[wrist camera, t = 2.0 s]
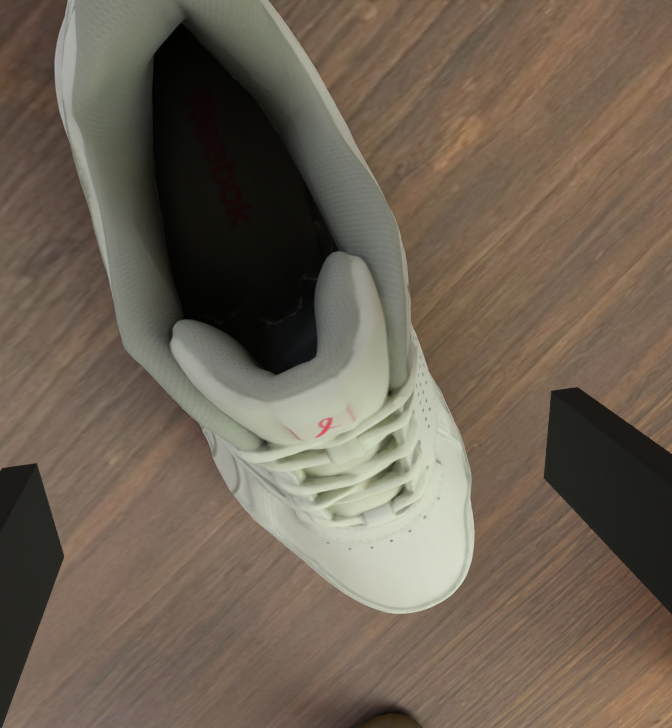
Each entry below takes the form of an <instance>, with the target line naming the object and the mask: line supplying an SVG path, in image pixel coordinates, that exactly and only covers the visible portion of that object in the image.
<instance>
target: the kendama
mask: <svg viewBox="0 0 672 728" xmlns="http://www.w3.org/2000/svg"><path fill="white" fill-rule="evenodd" d="M358 728H422V727H421V726H420V725H419V723H418V722H417V721H416V720H414V719H412V718H409V717H407V716H405V715H403V714H390V713H388V714H384V715H380V716H376V717H373V718H372V719H370V720H368V721H366V722H365V723H363V724H361V725H360V726H359V727H358Z"/></svg>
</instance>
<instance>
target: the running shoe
mask: <svg viewBox="0 0 672 728" xmlns="http://www.w3.org/2000/svg"><path fill="white" fill-rule="evenodd" d="M54 64H55V87H56V94H57V101H58V106H59V112H60V115H61V118H62V121H63V125H64V128H65V131H66V134H67V137H68V139H69V142H70V146H71V151H72V155H73V159H74V162H75V166H76V170H77V173H78V177H79V180H80V183H81V186H82V189H83V192H84V195H85V198H86V201H87V204H88V208H89V211H90V214H91V219H92V224H93V228H94V232H95V235H96V238H97V242H98V246H99V250H100V253H101V257H102V261H103V264H104V267H105V269H106V272H107V274H108V277H109V282H110V287H111V292H112V297H113V301H114V307H115V314H116V320H117V324H118V328H119V331H120V335H121V339H122V342H123V346H124V348H125V349H126V350H127V352H128V353H129V354H130V356H131V357H133V358H134V359H135V360H136V361H137V362H138V363H139V364H141V365H142V366H143V367H144V368H145V369H146V370H147V371H148V373H149V374H150V375H151V376H152V377H153V378H154V379H155V380H156V381H157V382H158V383H159V384H160V385H161V386H162V387H163V389H164V390H165V391H166V392H167V393H168V394H169V395H170V396H171V397H172V398H173V399H174V400H175V401H176V402H177V403H178V404H179V405H180V407H181V408H182V409H183V410H184V411H186V412H187V413H188V414H189V415H190V416H191V417H192V418H193V419H194V420H195V421H197V422H198V423H199V424H200V426H201V428H202V433H203V434H204V435H205V437H206V439H207V441H208V443H209V446H210V448H211V455H212V457H213V459H214V461H215V464H216V466H217V468H218V470H219V472H220V474H221V475H222V477H223V479H224V481H225V483H226V485H227V486H228V488H229V490H230V492H231V494H232V495H233V496H235V497H236V498H237V500H238V501H239V502H240V504H241V505H242V506H243V508H244V509H245V510H246V511H247V512H248V513H249V514H250V516H251V517H252V518H253V519H254V520H255V521H256V522H258V523H259V524H260V525H261V526H262V527H264V528H265V529H266V530H267V531H269V532H270V533H271V534H272V535H274V536H275V537H276V538H277V539H278V540H279V541H280V542H282V543H283V544H284V545H285V546H286V547H287V548H289V549H290V550H291V551H292V552H293V553H295V554H296V555H297V556H298V557H300V558H301V559H302V560H303V561H305V562H306V563H307V564H308V565H309V566H310V567H311V568H312V569H313V570H315V571H316V572H317V573H318V574H319V575H320V576H321V577H323V578H324V579H325V580H326V581H328V582H329V583H330V584H332V585H333V586H334V587H336V588H337V589H339V590H340V591H341V592H343V593H345V594H346V595H348V596H349V597H351V598H353V599H354V600H356V601H358V602H360V603H362V604H364V605H366V606H369V607H371V608H374V609H377V610H380V611H384V612H387V613H395V614H401V613H413V612H417V611H422V610H424V609H427V608H430V607H433V606H435V605H436V604H438V603H440V602H442V601H444V600H445V599H447V598H448V597H449V596H451V595H452V594H453V593H454V592H455V591H456V590H457V589H458V588H459V586H460V585H461V584H462V582H463V581H464V579H465V577H466V575H467V573H468V570H469V567H470V564H471V561H472V556H473V549H474V519H473V513H472V507H471V501H470V493H471V479H472V476H471V470H470V466H469V462H468V459H467V455H466V451H465V447H464V443H463V439H462V437H461V434H460V431H459V429H458V427H457V426H456V424H455V422H454V419H453V417H452V415H451V413H450V410H449V408H448V406H447V404H446V402H445V399H444V397H443V394H442V392H441V390H440V389H439V387H438V385H437V384H436V382H435V381H434V379H433V377H432V376H431V375H430V373H429V371H428V367H427V364H426V361H425V358H424V355H423V352H422V349H421V346H420V344H419V341H418V338H417V335H416V333H415V331H414V328H413V326H412V323H411V299H410V290H409V282H408V269H407V261H406V255H405V250H404V247H403V244H402V239H401V234H400V231H399V228H398V225H397V223H396V220H395V217H394V215H393V213H392V211H391V209H390V207H389V205H388V203H387V201H386V199H385V197H384V195H383V193H382V191H381V189H380V187H379V185H378V183H377V181H376V180H375V178H374V176H373V174H372V172H371V171H370V169H369V167H368V165H367V163H366V162H365V160H364V158H363V156H362V154H361V153H360V151H359V149H358V147H357V145H356V144H355V142H354V140H353V137H352V135H351V133H350V131H349V129H348V127H347V125H346V123H345V121H344V119H343V117H342V115H341V114H340V112H339V110H338V108H337V106H336V105H335V103H334V101H333V99H332V97H331V95H330V94H329V92H328V90H327V88H326V86H325V84H324V83H323V81H322V79H321V77H320V75H319V74H318V72H317V70H316V68H315V67H314V65H313V64H312V62H311V61H310V59H309V57H308V56H307V54H306V53H305V51H304V49H303V48H302V46H301V45H300V43H299V42H298V40H297V39H296V38H295V36H294V35H293V33H292V32H291V30H290V29H289V28H288V26H287V25H286V23H285V22H284V20H283V19H282V18H281V16H280V15H279V14H278V12H277V11H276V10H275V8H274V7H273V6H272V4H271V3H270V2H269V0H68V2H67V7H66V12H65V18H64V20H63V23H62V26H61V29H60V32H59V36H58V40H57V46H56V52H55V61H54Z"/></svg>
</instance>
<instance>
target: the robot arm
mask: <svg viewBox="0 0 672 728" xmlns="http://www.w3.org/2000/svg"><path fill="white" fill-rule="evenodd" d="M544 479H545V480H546V481H547V482H548V483H549V484H550V485H551V486H552V487H553V488H554V489H555V490H556V491H557V492H558V494H559V495H560V496H561V497H562V498H563V499H564V500H565V501H566V502H567V503H568V504H569V505H570V506H571V507H572V508H573V509H574V511H575V512H576V513H577V514H578V515H579V516H580V517H581V518H582V519H583V520H584V521H585V522H586V523H587V524H588V525H589V527H590V528H591V529H592V530H593V531H594V532H595V533H596V534H597V535H598V536H599V537H600V538H601V539H602V540H603V541H604V542H605V544H606V545H607V546H608V547H609V548H610V549H611V550H612V551H613V552H614V553H615V554H616V555H617V556H618V557H619V558H620V559H621V561H622V562H623V563H624V564H625V565H626V566H627V567H628V568H629V569H630V570H631V571H632V572H633V573H634V574H635V575H636V576H637V578H638V579H639V580H640V581H641V582H642V583H643V584H644V585H645V586H646V587H647V588H648V589H649V590H650V591H651V592H652V594H653V595H654V596H655V597H656V598H657V599H658V600H659V601H660V602H661V603H662V604H663V605H664V606H665V607H666V608H667V609H668V611H669V612H670V613H671V614H672V454H671V453H669V452H668V451H667V450H665V449H664V448H662V447H661V446H660V445H658V444H657V443H655V442H654V441H653V440H651V439H650V438H648V437H647V436H646V435H644V434H643V433H641V432H640V431H638V430H637V429H636V428H634V427H633V426H631V425H630V424H629V423H627V422H626V421H624V420H623V419H622V418H620V417H619V416H617V415H616V414H615V413H613V412H612V411H610V410H609V409H608V408H606V407H605V406H603V405H602V404H601V403H599V402H598V401H596V400H595V399H593V398H592V397H591V396H589V395H588V394H586V393H585V392H584V391H582V390H581V389H579V388H578V387H576V388H568V389H561V390H554V391H551V402H550V413H549V424H548V436H547V447H546V459H545V470H544ZM63 559H64V554H63V551H62V547H61V544H60V540H59V537H58V534H57V530H56V527H55V523H54V520H53V517H52V513H51V510H50V506H49V503H48V500H47V496H46V493H45V489H44V486H43V483H42V479H41V476H40V472H39V469H38V466H37V463H35V464H28V465H21V466H14V467H7V468H2V469H1V471H0V728H2V726H3V723H4V720H5V718H6V715H7V712H8V709H9V707H10V704H11V701H12V698H13V696H14V693H15V690H16V687H17V685H18V682H19V679H20V676H21V674H22V671H23V668H24V665H25V663H26V660H27V657H28V654H29V652H30V649H31V646H32V644H33V641H34V638H35V635H36V633H37V630H38V627H39V624H40V622H41V619H42V616H43V613H44V611H45V608H46V605H47V602H48V600H49V597H50V594H51V591H52V589H53V586H54V583H55V580H56V578H57V575H58V572H59V569H60V567H61V564H62V561H63Z"/></svg>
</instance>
